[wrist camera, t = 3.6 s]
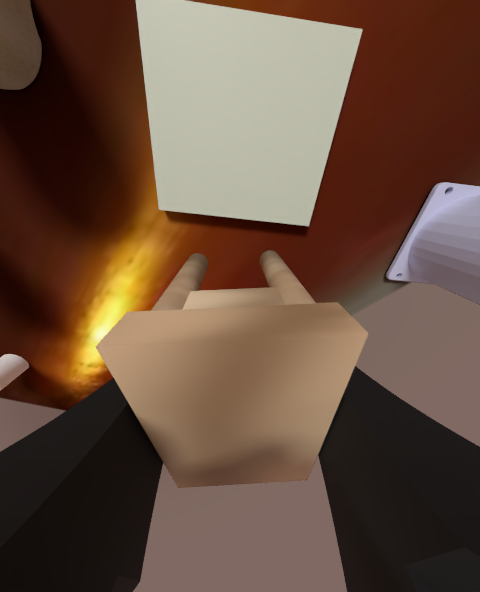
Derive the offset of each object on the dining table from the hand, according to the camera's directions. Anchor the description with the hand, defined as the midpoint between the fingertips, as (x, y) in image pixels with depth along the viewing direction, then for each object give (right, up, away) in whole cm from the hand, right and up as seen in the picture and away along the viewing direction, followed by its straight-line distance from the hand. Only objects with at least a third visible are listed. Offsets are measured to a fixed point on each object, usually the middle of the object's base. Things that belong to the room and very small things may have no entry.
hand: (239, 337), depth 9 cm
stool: (0, +1, +2) cm, 3 cm away
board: (0, +13, +3) cm, 14 cm away
